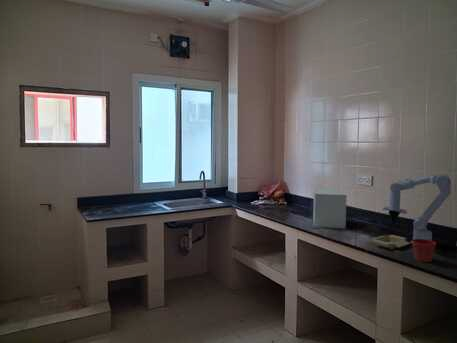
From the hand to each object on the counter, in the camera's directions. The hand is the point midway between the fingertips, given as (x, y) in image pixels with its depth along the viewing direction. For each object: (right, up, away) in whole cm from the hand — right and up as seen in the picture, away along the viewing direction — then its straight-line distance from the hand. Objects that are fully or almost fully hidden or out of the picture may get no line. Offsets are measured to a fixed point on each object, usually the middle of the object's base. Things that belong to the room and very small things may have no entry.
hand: (393, 222), depth 214 cm
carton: (-8, -11, -11) cm, 18 cm away
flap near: (-4, -9, -18) cm, 20 cm away
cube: (-29, -8, +41) cm, 51 cm away
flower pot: (-3, -14, -37) cm, 39 cm away
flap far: (-12, -8, -6) cm, 16 cm away
